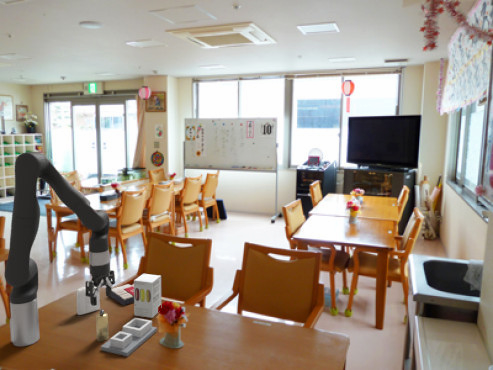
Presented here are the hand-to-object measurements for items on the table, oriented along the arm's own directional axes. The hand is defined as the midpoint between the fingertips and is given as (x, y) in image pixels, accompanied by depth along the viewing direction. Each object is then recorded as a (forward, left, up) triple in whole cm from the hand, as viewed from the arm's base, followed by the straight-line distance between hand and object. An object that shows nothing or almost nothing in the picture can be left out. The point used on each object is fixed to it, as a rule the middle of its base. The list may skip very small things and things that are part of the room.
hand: (101, 300), depth 153 cm
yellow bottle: (0, 0, -16) cm, 16 cm away
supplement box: (+4, +26, -16) cm, 31 cm away
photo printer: (-22, +17, -16) cm, 32 cm away
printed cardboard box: (-15, +36, -17) cm, 42 cm away
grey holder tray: (+11, +3, -16) cm, 20 cm away
